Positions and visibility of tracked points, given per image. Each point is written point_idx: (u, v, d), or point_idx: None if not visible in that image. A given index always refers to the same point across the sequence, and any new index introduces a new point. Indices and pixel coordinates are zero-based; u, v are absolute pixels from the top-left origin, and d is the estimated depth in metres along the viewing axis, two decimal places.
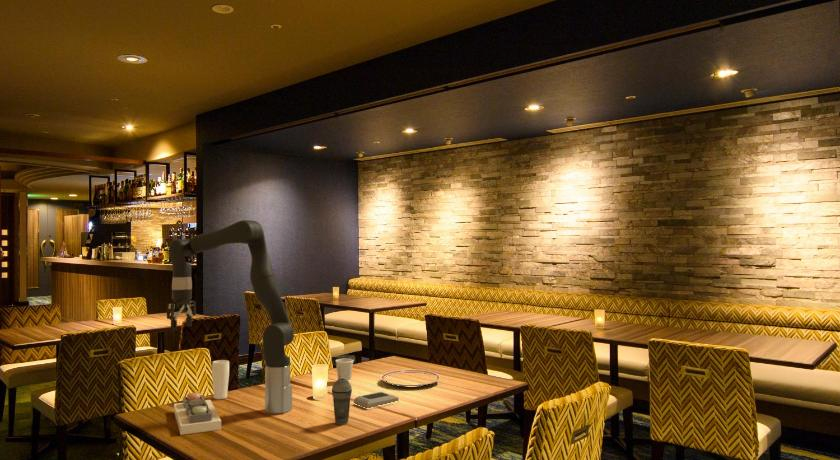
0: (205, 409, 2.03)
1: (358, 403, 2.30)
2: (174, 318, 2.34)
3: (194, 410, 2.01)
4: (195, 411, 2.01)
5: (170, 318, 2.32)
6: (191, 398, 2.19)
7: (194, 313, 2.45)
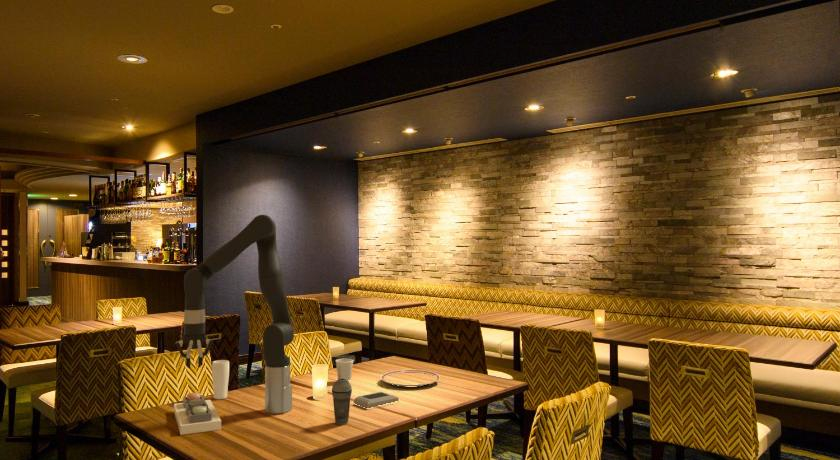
0: (205, 409, 2.03)
1: (358, 403, 2.30)
2: None
3: (194, 410, 2.01)
4: (195, 411, 2.01)
5: None
6: (191, 398, 2.19)
7: None
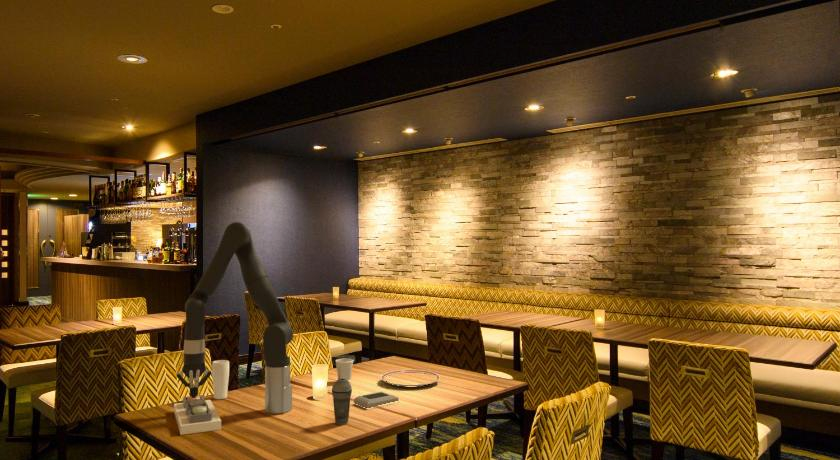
0: (205, 409, 2.03)
1: (358, 403, 2.31)
2: None
3: (194, 410, 2.01)
4: (195, 411, 2.01)
5: None
6: None
7: None
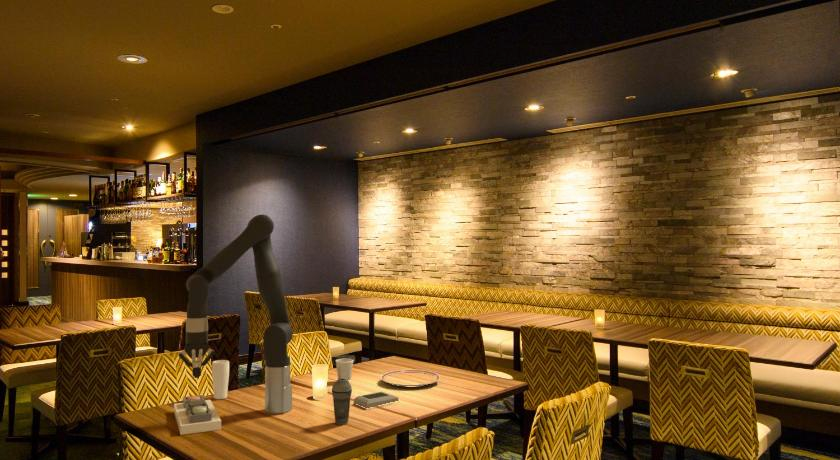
0: (205, 409, 2.03)
1: (358, 403, 2.31)
2: None
3: (194, 410, 2.01)
4: (195, 411, 2.01)
5: None
6: None
7: None
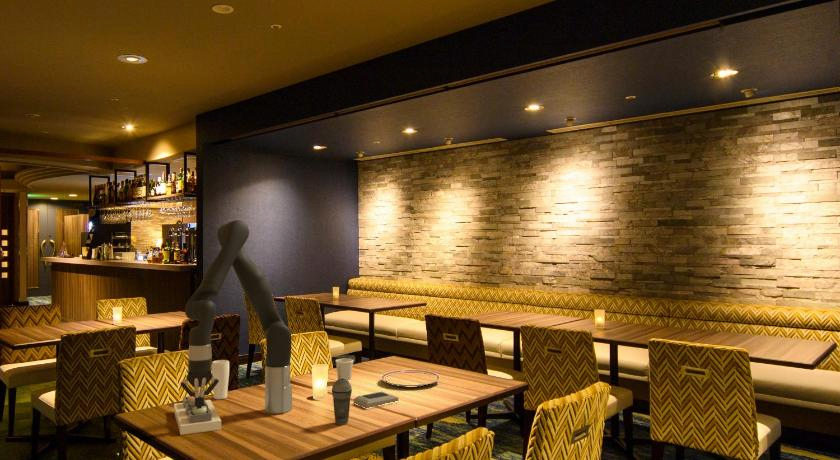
0: (205, 409, 2.03)
1: (358, 403, 2.31)
2: None
3: (194, 410, 2.01)
4: (195, 411, 2.01)
5: None
6: None
7: None
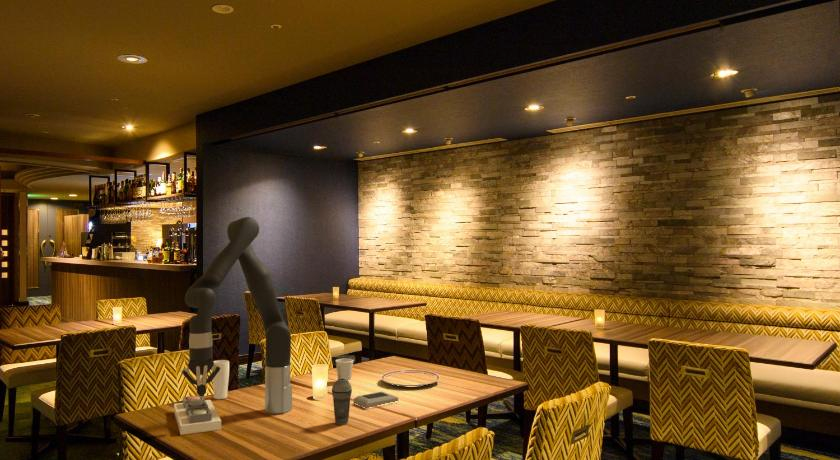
0: None
1: (358, 403, 2.31)
2: None
3: (194, 414, 2.01)
4: None
5: None
6: None
7: None
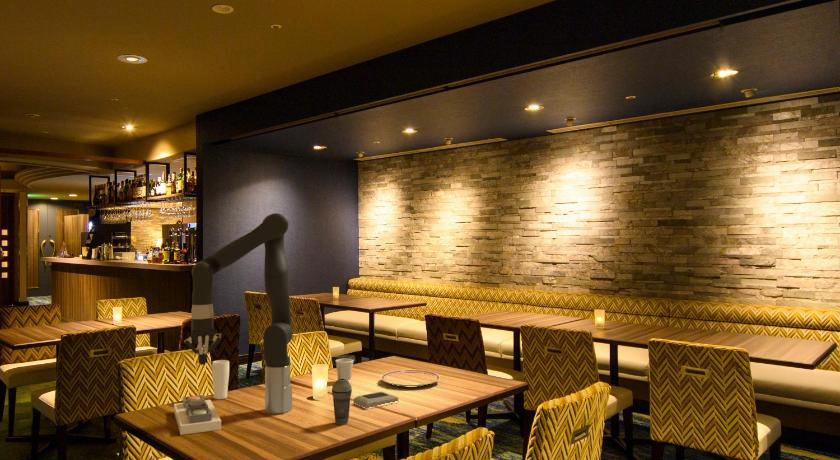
0: None
1: (357, 403, 2.31)
2: None
3: (194, 414, 2.01)
4: None
5: None
6: None
7: None
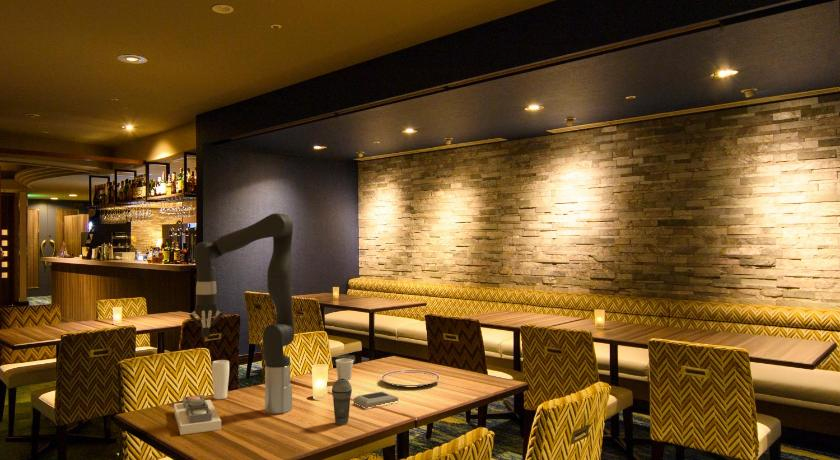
0: None
1: (357, 402, 2.31)
2: None
3: (194, 414, 2.01)
4: None
5: None
6: None
7: None
